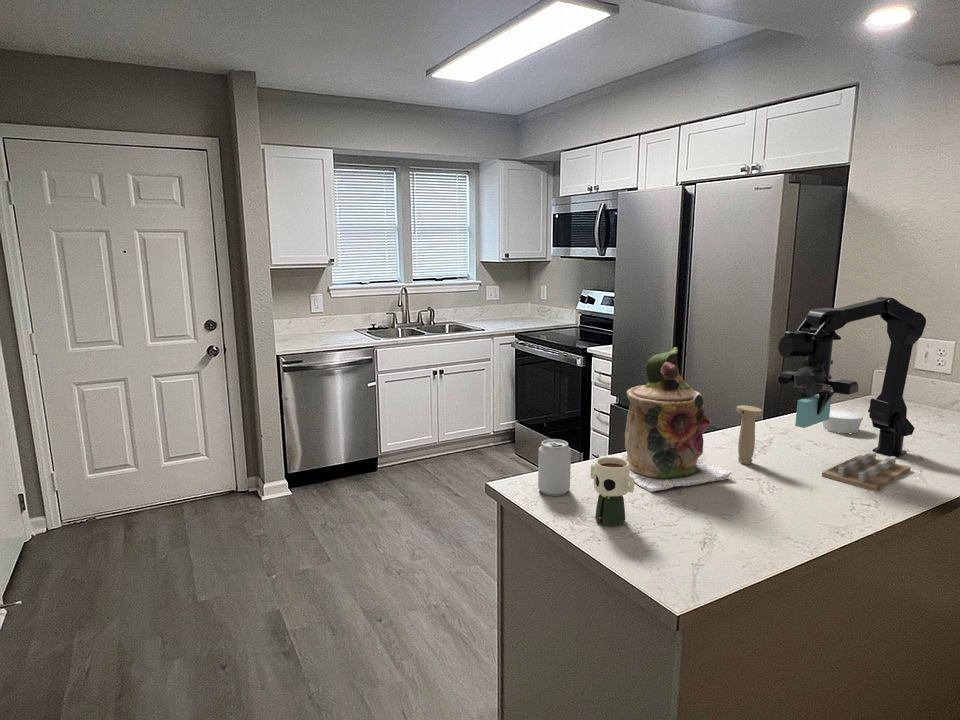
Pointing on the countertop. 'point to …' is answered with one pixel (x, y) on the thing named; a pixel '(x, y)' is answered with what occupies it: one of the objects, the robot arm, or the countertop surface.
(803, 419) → the door panel
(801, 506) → the countertop surface
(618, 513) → the character mug
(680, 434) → the cookie jar
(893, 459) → the track
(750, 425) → the handle
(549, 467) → the can
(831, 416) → the ramekin
